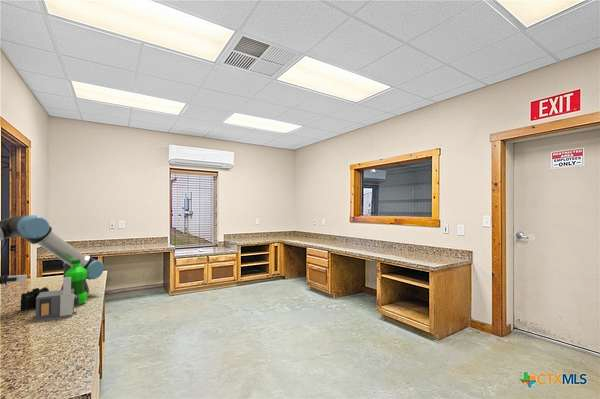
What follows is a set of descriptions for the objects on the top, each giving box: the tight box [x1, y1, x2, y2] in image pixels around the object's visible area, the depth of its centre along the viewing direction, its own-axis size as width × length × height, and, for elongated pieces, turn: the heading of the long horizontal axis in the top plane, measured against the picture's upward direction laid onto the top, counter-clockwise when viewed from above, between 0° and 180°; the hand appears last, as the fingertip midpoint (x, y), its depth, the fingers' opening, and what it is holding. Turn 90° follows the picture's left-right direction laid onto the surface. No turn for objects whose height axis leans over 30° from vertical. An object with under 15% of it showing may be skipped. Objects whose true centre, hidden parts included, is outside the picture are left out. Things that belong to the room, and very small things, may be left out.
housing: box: [35, 289, 80, 323], centre depth 155 cm, size 13×16×11 cm
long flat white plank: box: [60, 277, 74, 316], centre depth 152 cm, size 1×5×18 cm, turn 123°
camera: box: [19, 286, 50, 312], centre depth 167 cm, size 14×11×10 cm
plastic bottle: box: [65, 259, 88, 306], centre depth 172 cm, size 10×10×25 cm
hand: (26, 277), depth 143 cm, fingers closed
